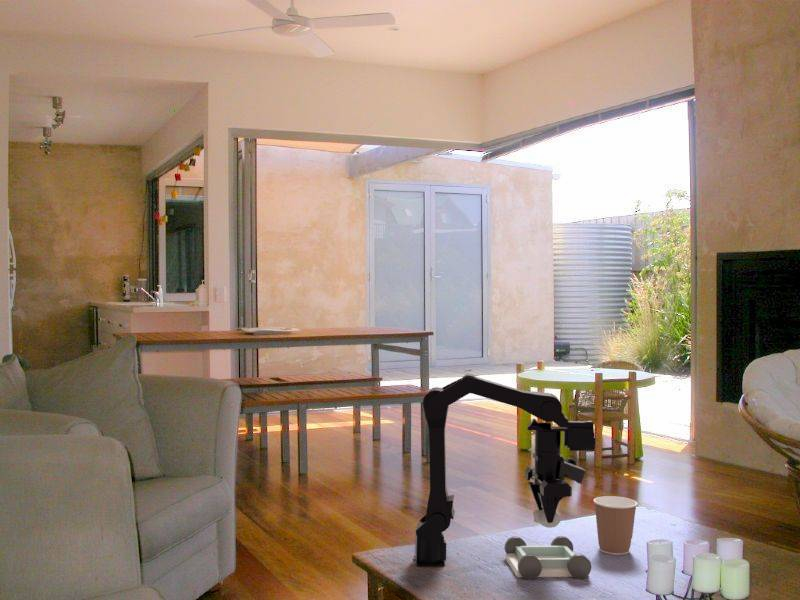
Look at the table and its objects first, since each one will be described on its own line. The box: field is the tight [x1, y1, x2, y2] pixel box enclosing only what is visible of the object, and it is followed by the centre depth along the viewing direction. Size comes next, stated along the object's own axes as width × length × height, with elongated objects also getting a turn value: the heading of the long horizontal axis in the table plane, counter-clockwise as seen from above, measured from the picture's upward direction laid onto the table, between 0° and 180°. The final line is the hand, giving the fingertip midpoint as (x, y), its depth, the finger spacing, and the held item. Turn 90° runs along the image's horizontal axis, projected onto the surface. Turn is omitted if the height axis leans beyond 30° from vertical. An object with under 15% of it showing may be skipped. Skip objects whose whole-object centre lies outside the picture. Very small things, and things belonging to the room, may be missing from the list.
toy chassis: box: [504, 535, 592, 581], centre depth 193 cm, size 16×15×5 cm
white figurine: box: [532, 505, 562, 529], centre depth 192 cm, size 5×7×8 cm
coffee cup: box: [593, 495, 638, 556], centre depth 206 cm, size 10×10×12 cm
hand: (546, 519), depth 192 cm, fingers closed on white figurine, 5 cm apart
